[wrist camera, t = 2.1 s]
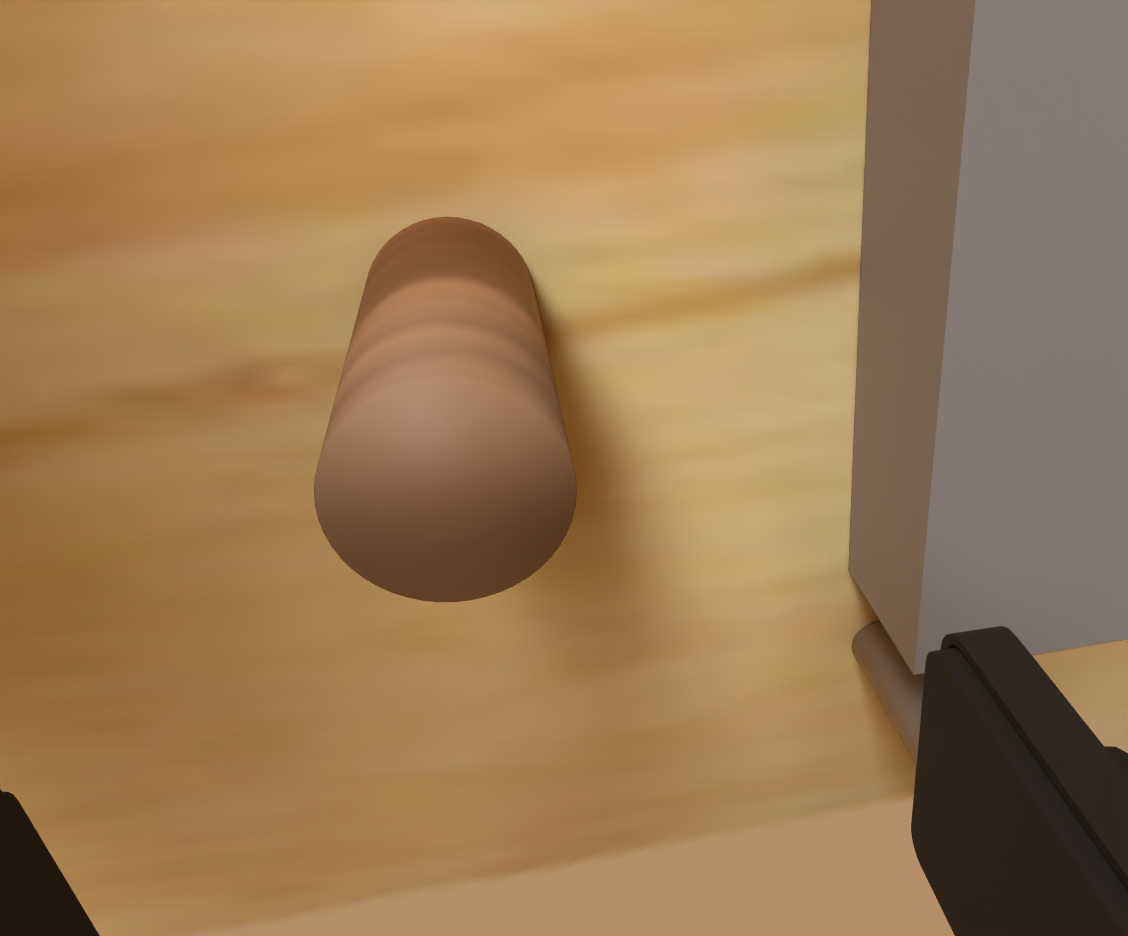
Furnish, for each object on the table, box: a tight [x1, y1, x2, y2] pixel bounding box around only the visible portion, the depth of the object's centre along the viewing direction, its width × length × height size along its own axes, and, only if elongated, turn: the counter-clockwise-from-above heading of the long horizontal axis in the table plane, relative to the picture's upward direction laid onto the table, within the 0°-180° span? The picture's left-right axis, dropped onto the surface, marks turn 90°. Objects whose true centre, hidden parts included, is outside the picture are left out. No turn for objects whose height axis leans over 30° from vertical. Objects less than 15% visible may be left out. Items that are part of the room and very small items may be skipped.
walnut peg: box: [314, 217, 577, 602], centre depth 18 cm, size 4×4×9 cm
